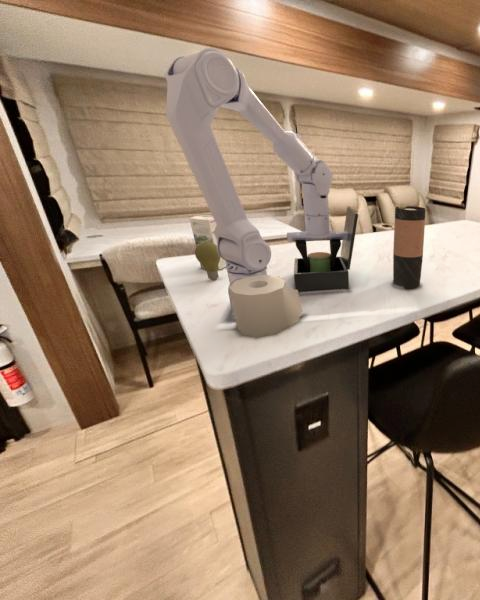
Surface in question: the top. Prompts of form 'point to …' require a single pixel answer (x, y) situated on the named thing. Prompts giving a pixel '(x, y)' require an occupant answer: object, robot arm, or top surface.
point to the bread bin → (320, 277)
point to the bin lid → (349, 236)
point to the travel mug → (408, 246)
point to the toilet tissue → (264, 305)
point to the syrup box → (205, 233)
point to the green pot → (319, 262)
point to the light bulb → (208, 258)
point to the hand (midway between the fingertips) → (320, 268)
